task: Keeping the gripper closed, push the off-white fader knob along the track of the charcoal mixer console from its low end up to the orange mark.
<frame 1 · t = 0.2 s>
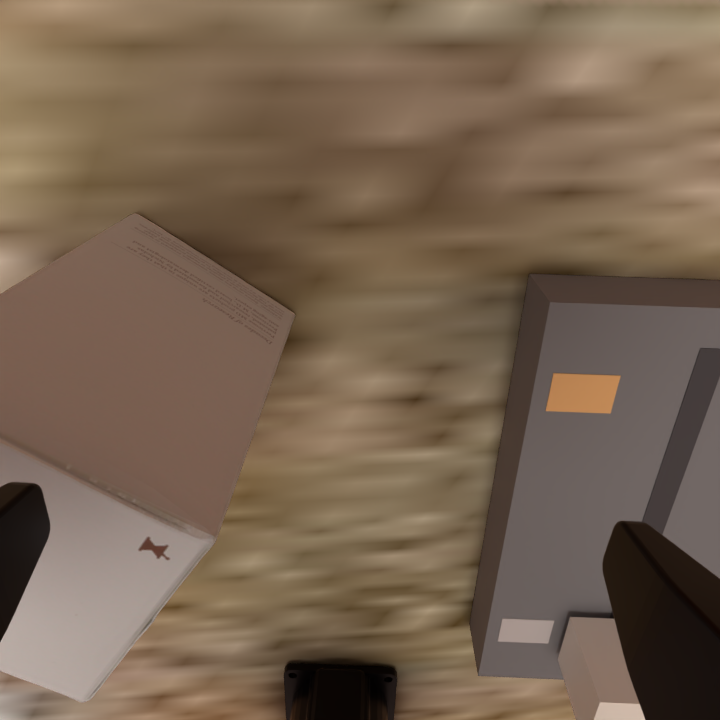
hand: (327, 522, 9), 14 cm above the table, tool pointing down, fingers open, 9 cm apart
fader: (637, 687, 24), point 6 cm above the table, slide at -6.5 cm
console: (623, 484, 26), on the table
supplement box: (179, 329, 24), on the table
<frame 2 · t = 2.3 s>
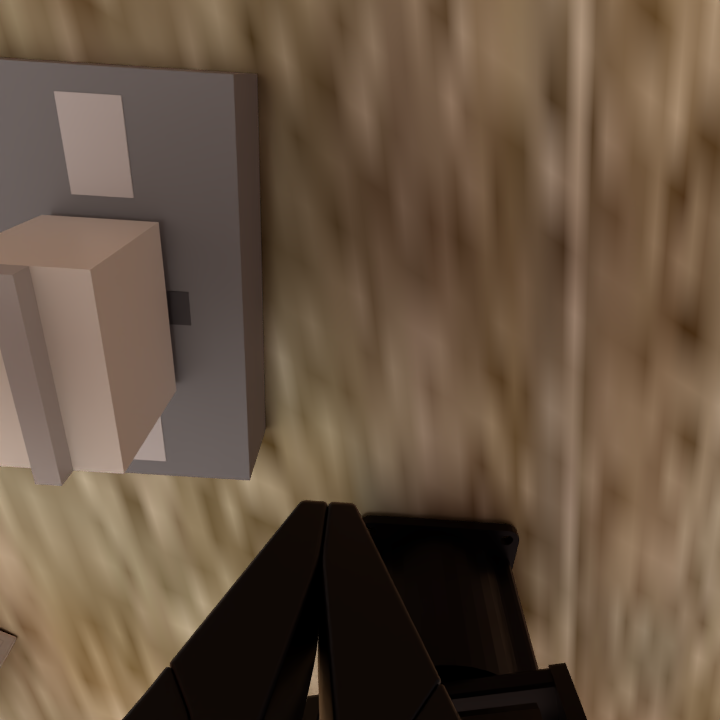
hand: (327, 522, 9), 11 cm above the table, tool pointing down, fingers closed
fader: (75, 343, 14), point 6 cm above the table, slide at -6.5 cm
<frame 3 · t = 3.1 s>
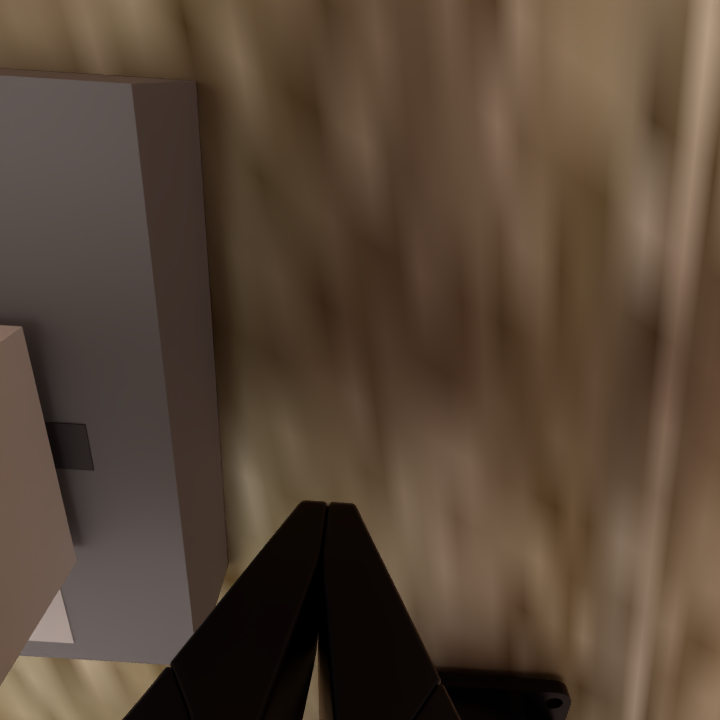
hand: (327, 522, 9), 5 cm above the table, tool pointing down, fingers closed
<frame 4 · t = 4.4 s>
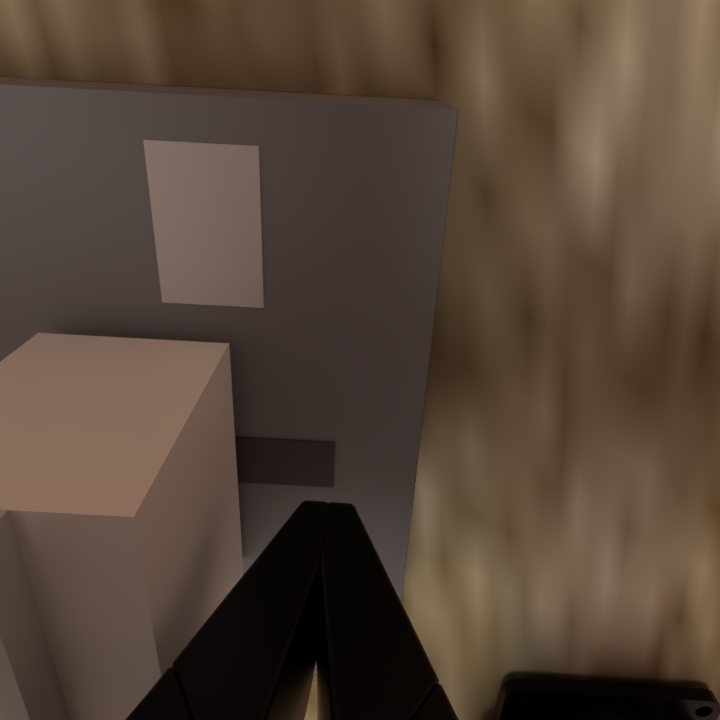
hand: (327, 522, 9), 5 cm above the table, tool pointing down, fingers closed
fader: (96, 563, 8), point 6 cm above the table, slide at -5.3 cm, touching gripper
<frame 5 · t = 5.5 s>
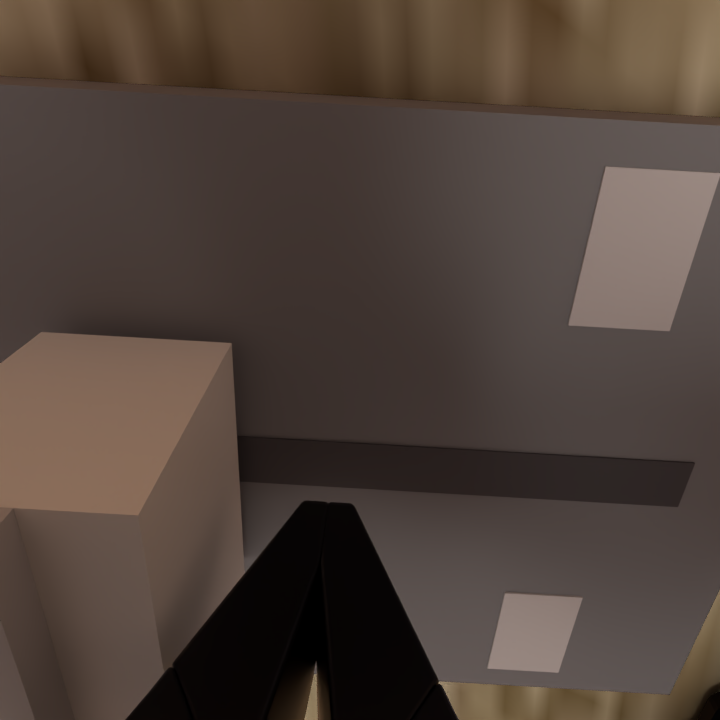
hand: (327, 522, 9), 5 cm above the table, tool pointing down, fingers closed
fader: (99, 562, 8), point 6 cm above the table, slide at 1.1 cm, touching gripper
console: (252, 378, 13), on the table
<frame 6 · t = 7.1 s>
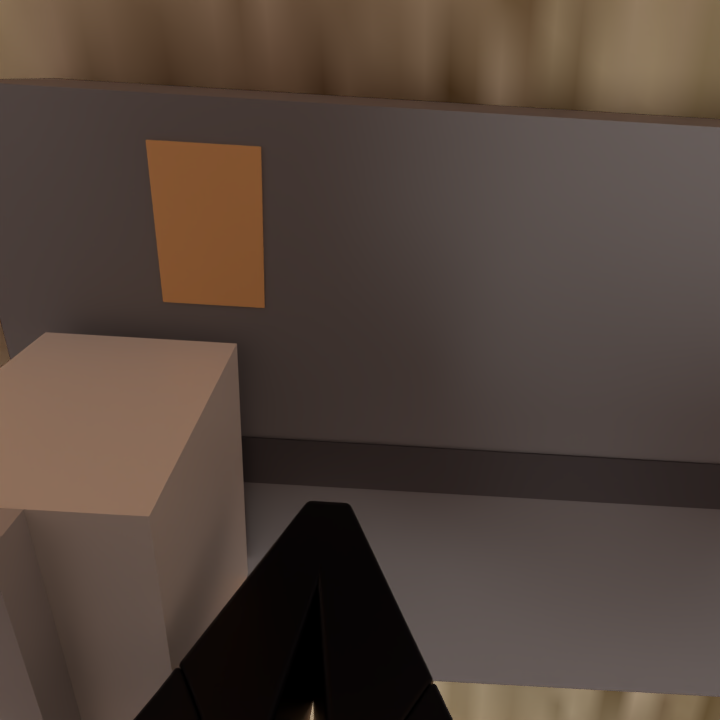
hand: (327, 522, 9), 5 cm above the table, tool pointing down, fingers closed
fader: (104, 563, 8), point 6 cm above the table, slide at 7.6 cm, touching gripper
console: (537, 395, 13), on the table
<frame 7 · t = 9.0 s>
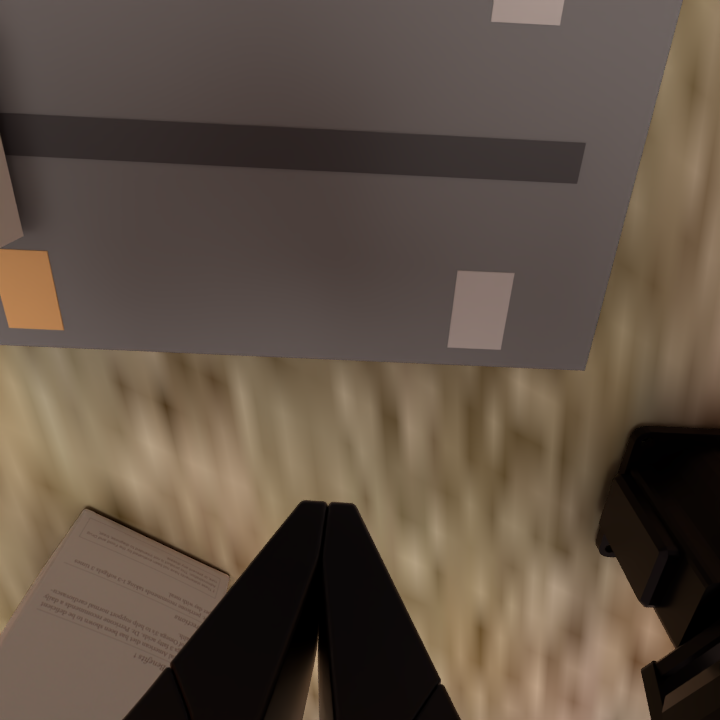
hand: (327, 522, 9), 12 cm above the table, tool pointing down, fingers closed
console: (266, 133, 17), on the table
supplement box: (129, 583, 26), on the table
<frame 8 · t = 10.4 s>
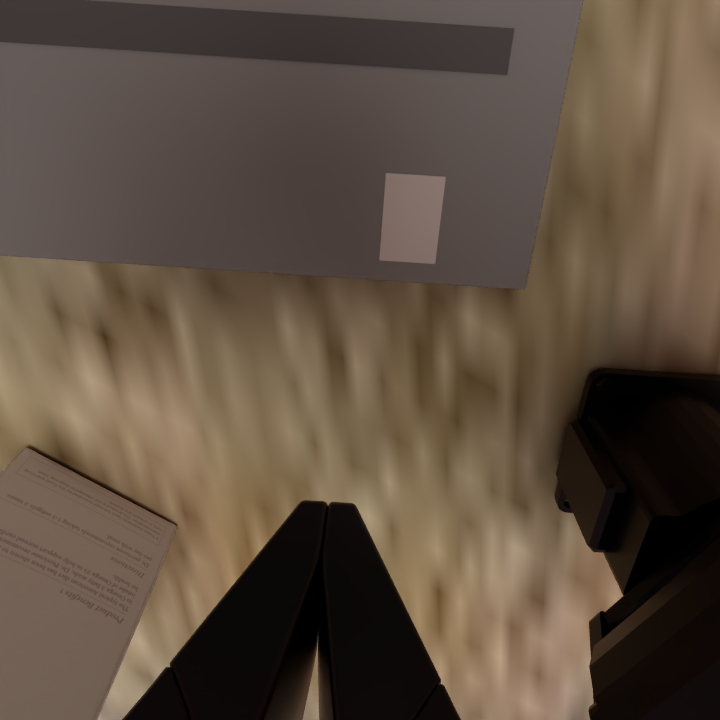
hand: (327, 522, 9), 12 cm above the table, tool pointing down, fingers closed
console: (196, 36, 16), on the table
supplement box: (76, 532, 26), on the table
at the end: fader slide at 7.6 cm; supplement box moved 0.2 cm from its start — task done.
